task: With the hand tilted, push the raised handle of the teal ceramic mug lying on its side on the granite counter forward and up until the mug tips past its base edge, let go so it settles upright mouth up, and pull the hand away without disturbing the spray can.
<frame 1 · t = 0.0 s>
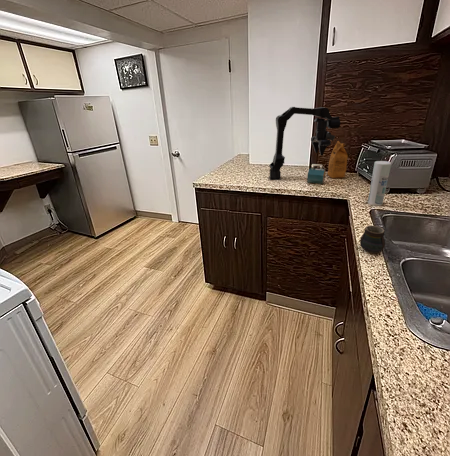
hand: (319, 154, 159), 15 cm above the counter, tool pointing down, fingers open, 9 cm apart
mug: (308, 175, 153), point 4 cm above the counter
spray can: (374, 203, 119), on the counter
coffee package: (335, 176, 162), on the counter
mate gourd: (370, 250, 84), on the counter
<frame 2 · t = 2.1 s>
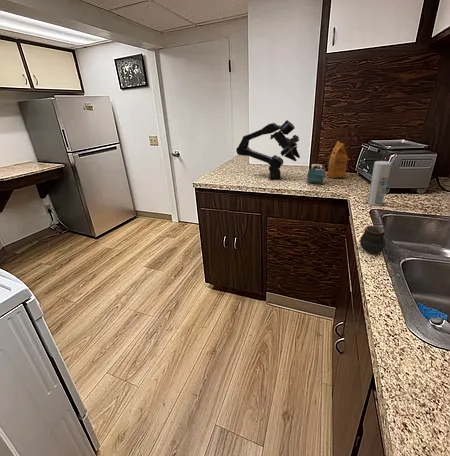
hand: (297, 159, 153), 14 cm above the counter, tool tilted 40°, fingers open, 9 cm apart
nothing on the counter moved.
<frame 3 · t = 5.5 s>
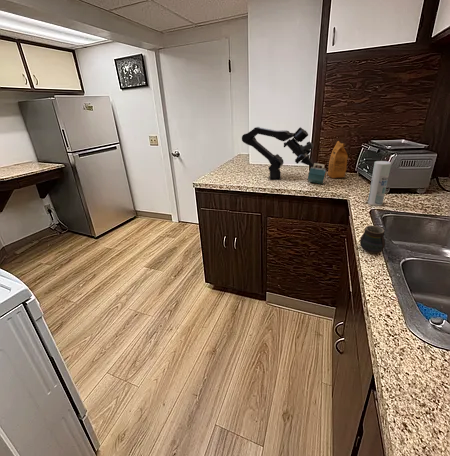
hand: (312, 166, 150), 10 cm above the counter, tool tilted 45°, fingers closed, pressing on mug
mug: (309, 174, 152), point 5 cm above the counter, tilted 6°, touching gripper
everything else where it was.
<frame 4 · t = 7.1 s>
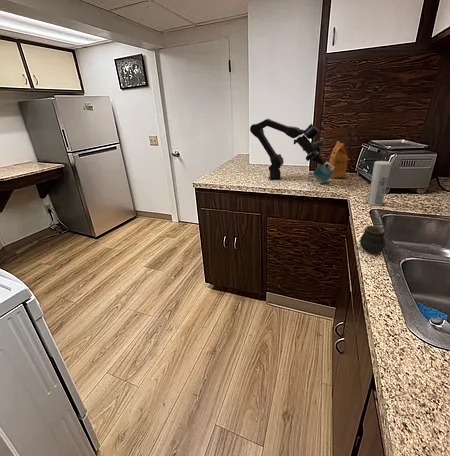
hand: (323, 163, 146), 12 cm above the counter, tool tilted 45°, fingers closed, pressing on mug
mug: (316, 168, 149), point 9 cm above the counter, tilted 36°, touching gripper
everything else where it was.
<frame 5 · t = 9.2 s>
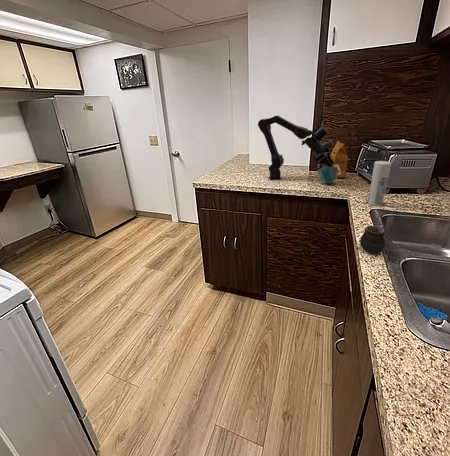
hand: (332, 165, 144), 12 cm above the counter, tool tilted 45°, fingers open, 6 cm apart
mug: (324, 167, 147), point 10 cm above the counter, tilted 63°, touching gripper
everything else where it was.
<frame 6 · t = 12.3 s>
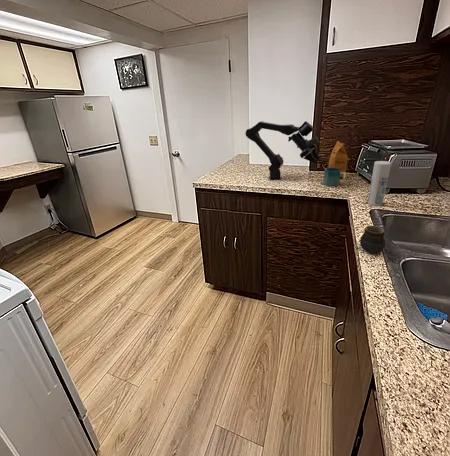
hand: (317, 161, 147), 13 cm above the counter, tool tilted 45°, fingers open, 9 cm apart
mug: (332, 169, 145), point 9 cm above the counter, tilted 90°
everything else where it was.
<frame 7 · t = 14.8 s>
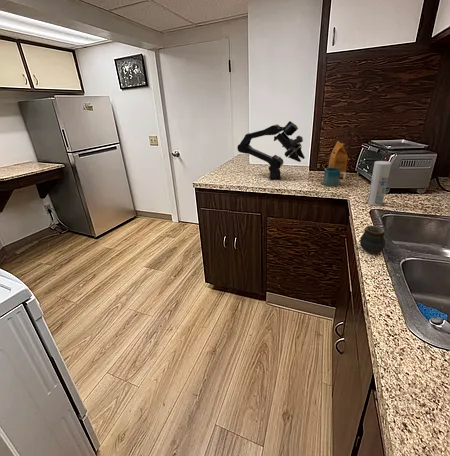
hand: (302, 159, 151), 14 cm above the counter, tool tilted 45°, fingers open, 9 cm apart
nothing on the counter moved.
at the end: mug point 9.0 cm above the counter; mug inside the target area (0.8 cm from its centre), point 9.0 cm above the counter; spray can moved 0.2 cm from its start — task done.
